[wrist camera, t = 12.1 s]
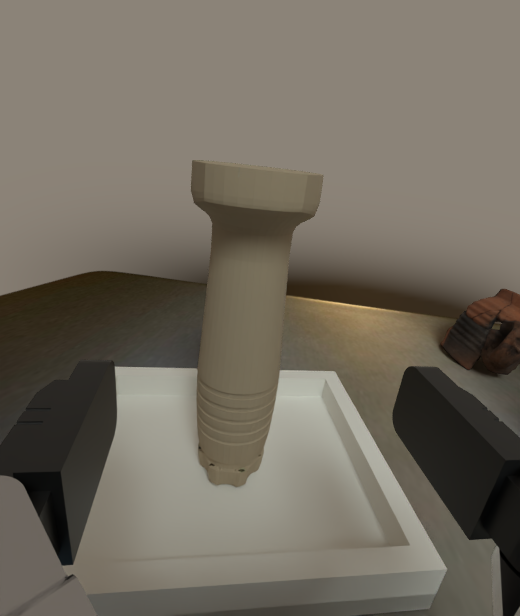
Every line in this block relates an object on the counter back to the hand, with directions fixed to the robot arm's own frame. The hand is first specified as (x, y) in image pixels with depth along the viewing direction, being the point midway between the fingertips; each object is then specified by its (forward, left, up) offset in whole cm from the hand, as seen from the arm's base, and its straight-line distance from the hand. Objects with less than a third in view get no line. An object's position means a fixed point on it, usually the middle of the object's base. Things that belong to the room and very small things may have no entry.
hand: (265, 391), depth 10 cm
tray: (0, +7, -10) cm, 13 cm away
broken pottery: (+27, +20, -11) cm, 35 cm away
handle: (0, +7, -10) cm, 12 cm away
